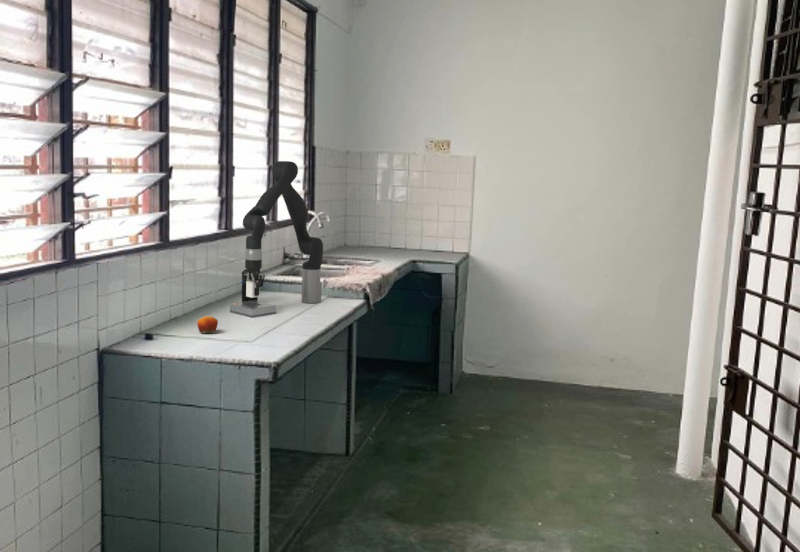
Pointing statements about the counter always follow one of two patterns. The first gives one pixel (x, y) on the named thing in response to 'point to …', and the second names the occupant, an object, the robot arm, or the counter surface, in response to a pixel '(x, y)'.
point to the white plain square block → (251, 289)
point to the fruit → (207, 324)
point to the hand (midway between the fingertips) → (253, 294)
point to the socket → (252, 308)
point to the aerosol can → (244, 297)
